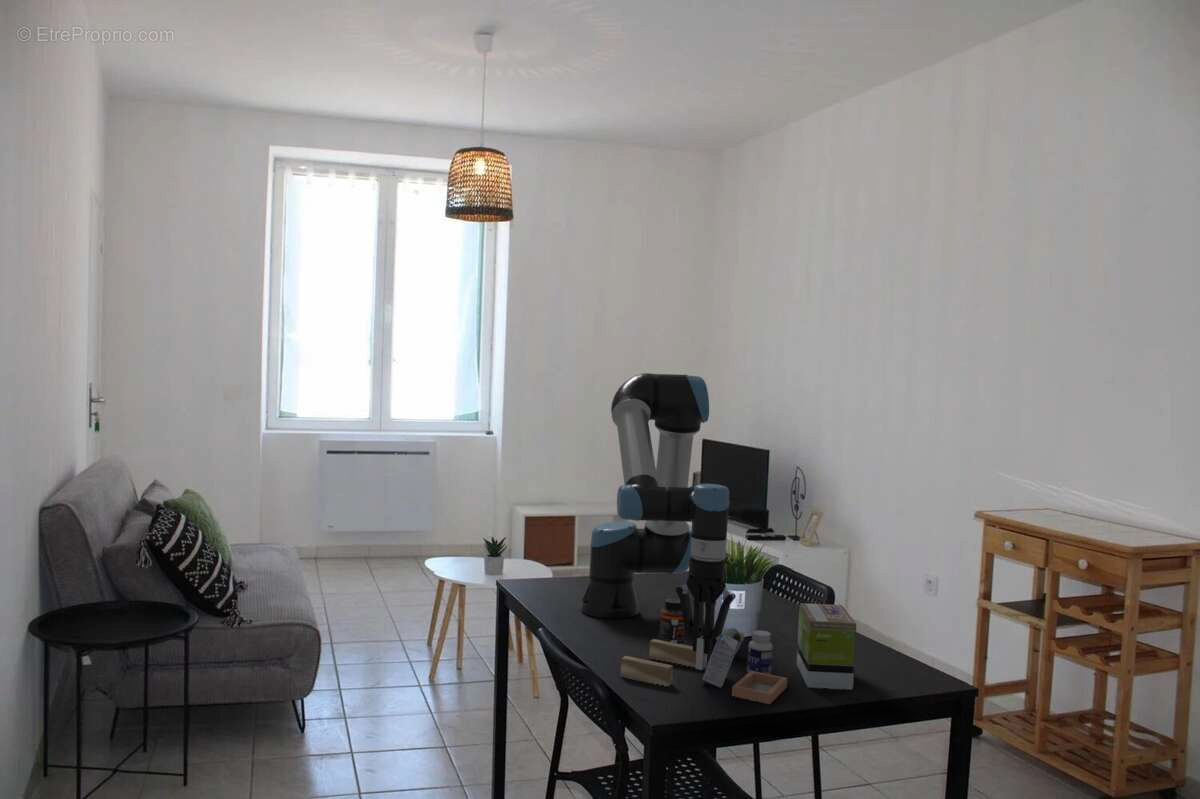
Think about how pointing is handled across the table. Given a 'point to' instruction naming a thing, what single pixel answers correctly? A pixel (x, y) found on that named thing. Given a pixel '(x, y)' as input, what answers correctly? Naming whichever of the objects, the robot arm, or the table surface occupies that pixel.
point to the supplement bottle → (672, 622)
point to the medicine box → (720, 660)
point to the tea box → (826, 646)
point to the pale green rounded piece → (734, 636)
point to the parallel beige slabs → (655, 670)
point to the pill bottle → (760, 652)
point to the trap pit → (759, 687)
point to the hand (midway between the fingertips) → (700, 667)
